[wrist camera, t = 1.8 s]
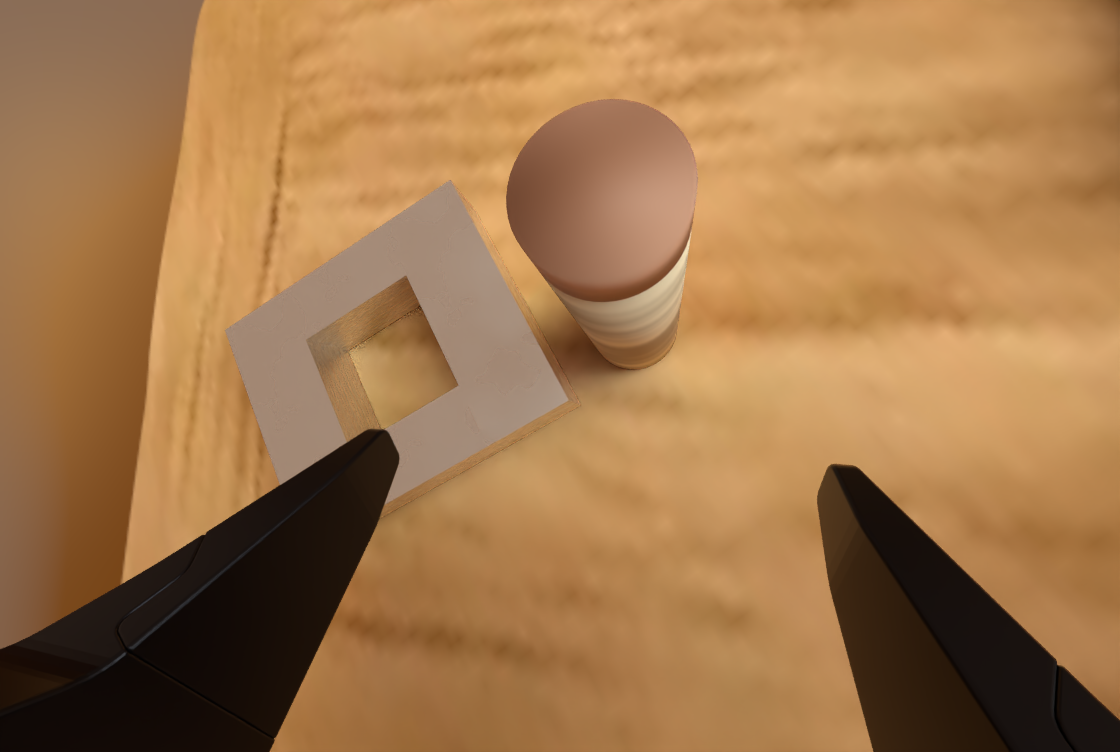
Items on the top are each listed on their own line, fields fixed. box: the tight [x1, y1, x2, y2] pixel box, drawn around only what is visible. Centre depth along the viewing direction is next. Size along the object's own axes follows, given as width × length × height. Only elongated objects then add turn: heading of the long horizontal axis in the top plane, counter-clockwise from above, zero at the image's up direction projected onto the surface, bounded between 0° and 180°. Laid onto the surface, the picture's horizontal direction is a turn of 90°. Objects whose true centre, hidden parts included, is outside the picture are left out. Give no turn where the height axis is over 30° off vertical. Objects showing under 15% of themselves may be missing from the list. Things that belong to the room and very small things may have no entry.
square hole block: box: [225, 180, 581, 519], centre depth 22 cm, size 12×14×3 cm
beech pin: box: [506, 99, 698, 369], centre depth 15 cm, size 4×4×12 cm
